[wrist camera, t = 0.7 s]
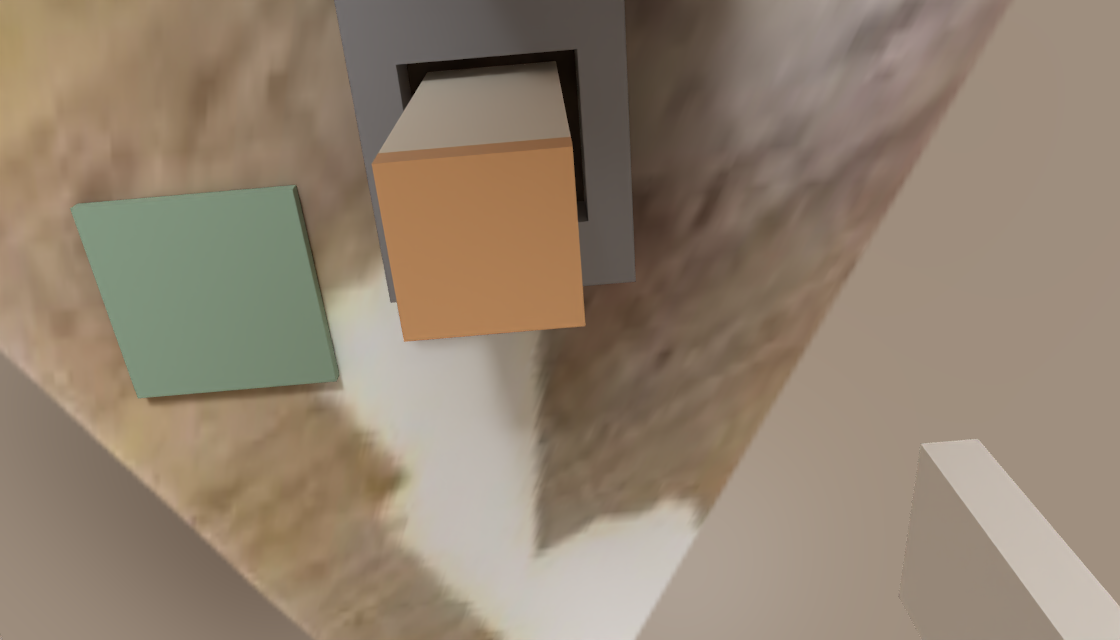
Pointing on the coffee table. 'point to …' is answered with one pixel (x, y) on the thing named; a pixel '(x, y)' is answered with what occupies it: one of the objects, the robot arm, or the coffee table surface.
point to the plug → (482, 205)
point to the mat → (210, 290)
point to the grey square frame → (495, 30)
